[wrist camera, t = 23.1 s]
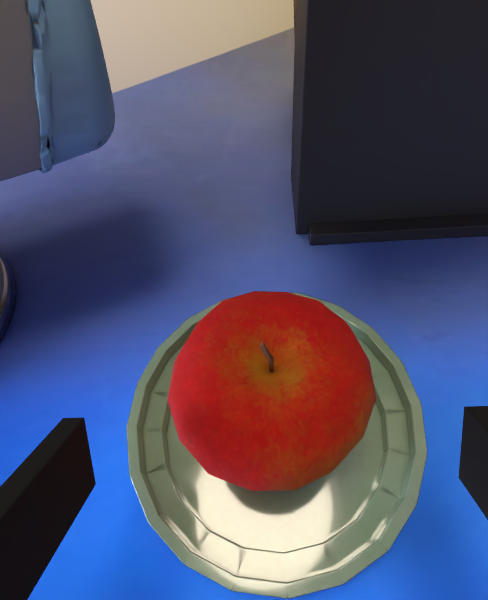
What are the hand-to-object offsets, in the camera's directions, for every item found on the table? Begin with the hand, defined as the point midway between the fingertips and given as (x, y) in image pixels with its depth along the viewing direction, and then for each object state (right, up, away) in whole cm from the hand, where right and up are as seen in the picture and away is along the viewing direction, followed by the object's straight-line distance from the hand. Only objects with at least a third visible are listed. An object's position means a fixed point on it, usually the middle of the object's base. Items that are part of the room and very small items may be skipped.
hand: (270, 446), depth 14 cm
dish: (+1, -3, +11) cm, 11 cm away
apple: (+1, -3, +10) cm, 11 cm away
